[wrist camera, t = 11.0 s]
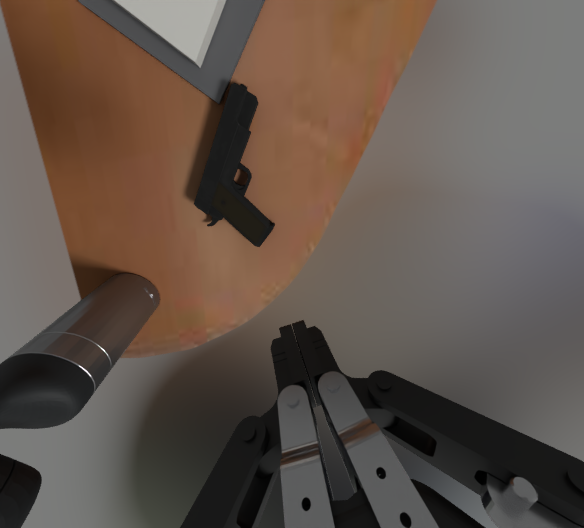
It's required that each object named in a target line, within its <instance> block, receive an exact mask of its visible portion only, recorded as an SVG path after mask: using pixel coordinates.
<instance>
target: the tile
mask: <svg viewBox="0 0 584 528" xmlns="http://www.w3.org/2000/svg"><path fill="white" fill-rule="evenodd" d="M112 1H113V2H114V3H116V4H117V5H118V6H120V7H121V8H122V9H124V10H125V11H126V12H128V13H129V14H130V15H131V16H133V17H134V18H135V19H137V20H138V21H139V22H141V23H142V24H143V25H145V26H146V27H147V28H148V29H150V30H151V31H152V32H154V33H155V34H156V35H158V36H159V37H160V38H162V39H163V40H164V41H166V42H167V43H168V44H169V45H171V46H172V47H173V48H175V49H176V50H177V51H179V52H180V53H181V54H183V55H184V56H185V57H186V58H188V59H189V60H190V61H192V62H193V63H194V64H196V65H197V66H198V67H200V68H201V65H202V62H203V60H204V57H205V55H206V52H207V49H208V47H209V44H210V42H211V39H212V36H213V34H214V31H215V28H216V26H217V23H218V21H219V18H220V15H221V13H222V10H223V8H224V5H225V2H226V0H112Z"/></svg>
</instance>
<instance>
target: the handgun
mask: <svg viewBox="0 0 584 528" xmlns="http://www.w3.org/2000/svg"><path fill="white" fill-rule="evenodd" d="M257 106H258V101H257V98H256V96H254V95H253V94H251V93H249V92H248V91H247V87H246V86H245V85H243V84H241V85H238V84H236V83H233V84H231V87H230V90H229V93H228V97H227V100H226V103H225V106H224V109H223V113H222V116H221V119H220V122H219V125H218V129H217V132H216V135H215V138H214V141H213V145H212V148H211V151H210V154H209V157H208V161H207V164H206V167H205V170H204V173H203V177H202V180H201V183H200V186H199V189H198V193H197V196H196V199H195V202H194V205H195V206H196V207H197V208H198V209H200V210H201V211H203V212H204V213H206V214H208V213H209V214H210V215H211V216H212V222H211V223H210V224H208V225H207V226H213V225H215V224H216V223H217V222H218V220H222V219H223V217H224V218H225V219H226V220H227V221H228V222H229V223H230V224H231V225H232V226H234V227H235V228H236V229H237V230H238V231H239V232H240V233H241V234H242V235H243V236H244V237H246V238H247V239H248V240H249V241H250V242H251V243H252V244H253V245H254V246H257V247H260V246H261V244H262V243H263V242H264V240H265V239H266V238H267V236H268V235H269V234H270V233H271V231H272V230H273V227H274V226H275V223H271V222H270V220H269V219H268V218H267V217H265V216H264V215H263V214H262V213H261V212H260V211H259V210H258V209H257V208H256V207H255V206H254V205H253V204H252V203H251V202H250V201H249V200H248V199H247V198H246V197H245V196H244V195H245V193H246V190H247V188H248V185H249V183H250V180H251V178H252V176H251V173H250V171H249V169H248V168H246V167H245V166H243V165H242V164H241V163H240V161H241V158H242V156H243V153H244V150H245V148H246V145H247V142H248V139H249V137H250V134H251V132H250V131H249V127H250V125H251V122H252V119H253V117H254V114H255V111H256V108H257ZM237 169H242V170H243V171H245V172H247V174H248V180H247V182H246V185H242V186H241V185H239V184H237V183H235V181H234V177H235V175H236V172H237Z"/></svg>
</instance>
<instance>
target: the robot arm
mask: <svg viewBox="0 0 584 528" xmlns="http://www.w3.org/2000/svg"><path fill="white" fill-rule="evenodd" d="M159 301H160V297H159V293H158V291H157V289H156V288H155V286H154V285H153V284H152V283H151V282H149V281H148V280H146V279H145V278H143V277H141V276H138V275H135V274H129V273H122V274H117V275H115V276H112V277H111V278H110V279H108V280H107V281H106V282H105V283H103V284H102V285H100V286H99V287H98V288H96V289H95V290H94V291H93V292H91V293H90V294H89V295H87V296H86V297H85V298H84V299H82V300H81V301H80V302H78V303H77V304H76V305H75V306H73V307H72V308H71V309H69V310H68V311H67V312H66V313H64V314H63V315H62V316H61V317H59V318H58V319H57V320H56V321H55V322H53V323H52V324H51V325H49V326H48V327H47V328H46V329H44V330H43V331H42V332H41V333H39V334H38V335H37V336H35V337H34V338H33V339H32V340H30V341H29V342H28V343H27V344H25V345H24V346H23V347H22V348H20V349H19V350H18V351H16V352H15V353H14V354H13V355H11V356H10V357H9V358H8V359H6V360H5V361H4V362H2V363H1V364H0V429H5V428H23V429H24V428H25V429H38V428H48V427H53V426H58V425H60V424H63V423H65V422H67V421H69V420H71V419H72V418H74V417H75V416H76V415H77V414H78V413H79V412H80V411H81V410H82V408H83V407H84V406H85V404H86V403H87V402H88V400H89V399H90V398H91V396H92V395H93V394H94V392H95V391H96V389H97V388H98V387H99V385H100V384H101V383H102V381H103V380H104V379H105V377H106V376H107V375H108V373H109V372H110V370H111V369H112V368H113V366H114V365H115V364H116V362H117V361H118V359H119V358H120V357H121V355H122V354H123V353H124V351H125V350H126V349H127V347H128V346H129V345H130V343H131V342H132V341H133V339H134V338H135V337H136V335H137V334H138V333H139V331H140V330H141V328H142V327H143V326H144V324H145V323H146V322H147V320H148V319H149V318H150V316H151V315H152V314H153V312H154V311H155V310H156V308H157V307H158V305H159ZM292 326H293V329H292ZM292 326H291V324H290V325H287V326H284V327H280V328H279V330H280V333H281V337H280V338H277V339H274V340H273V341H272V345H271V352H272V357H273V363H274V369H275V375H276V380H277V386H278V398H277V400H276V403H275V404H274V406H273V407H272V408H271V409H270V410H269V411H268V412H267V413H265V414H264V415H263V416H261V417H260V418H259V417H257V416H249V417H247V418H245V419H243V420H242V421H241V422H240V423H239V424H238V426H237V427H236V429H235V431H234V433H233V434H232V436H231V438H230V440H229V442H228V443H227V445H226V447H225V449H224V450H223V452H222V454H221V456H220V458H219V459H218V461H217V463H216V465H215V467H214V468H213V470H212V472H211V474H210V476H209V477H208V479H207V481H206V483H205V485H204V486H203V488H202V490H201V491H200V494H199V495H198V497H197V499H196V501H195V502H194V504H193V506H192V508H191V509H190V511H189V513H188V515H187V516H186V518H185V520H184V522H183V524H182V525H181V527H180V528H257V527H258V525H259V522H260V519H261V517H262V514H263V512H264V509H265V506H266V504H267V501H268V498H269V496H270V493H271V490H272V487H273V485H274V482H275V479H276V477H277V474H278V472H279V469H280V470H281V482H282V494H283V507H284V519H285V528H485V527H484V526H482V525H481V524H480V523H478V522H477V521H475V520H474V519H473V518H471V517H470V516H469V515H467V514H466V513H465V512H463V511H462V510H461V509H459V508H458V507H456V506H455V505H454V504H452V503H451V502H450V501H448V500H447V499H445V498H444V497H443V496H441V495H440V494H439V493H437V492H436V491H435V490H433V489H431V488H430V487H428V486H427V485H425V484H423V483H421V482H418V481H416V480H413V479H410V478H409V477H408V475H407V473H406V472H405V470H404V468H403V467H402V465H401V463H400V462H399V460H398V458H397V457H396V455H395V453H394V452H393V450H392V448H391V447H390V445H389V443H388V442H387V440H386V438H385V437H384V435H386V436H387V437H389V438H391V439H392V440H394V441H395V442H397V443H398V444H400V445H402V446H403V447H405V448H406V449H408V450H410V451H411V452H413V453H414V454H416V455H417V456H419V457H420V458H422V459H424V460H425V461H427V462H428V463H430V464H431V465H433V466H435V467H436V468H438V469H439V470H441V471H442V472H444V473H446V474H447V475H449V476H450V477H452V478H453V479H455V480H457V481H458V482H460V483H461V484H463V485H465V486H466V487H468V488H469V489H471V490H472V491H474V492H475V493H477V494H479V495H480V496H481V501H482V504H483V507H484V509H485V511H486V513H487V514H488V516H489V517H490V518H491V520H492V521H493V522H494V523H495V525H496V526H497V527H499V528H584V462H583V461H581V460H579V459H577V458H575V457H573V456H571V455H568V454H566V453H564V452H562V451H560V450H557V449H555V448H553V447H551V446H549V445H547V444H544V443H542V442H540V441H538V440H536V439H533V438H531V437H529V436H527V435H525V434H522V433H520V432H518V431H516V430H514V429H512V428H509V427H507V426H505V425H503V424H501V423H498V422H496V421H494V420H492V419H490V418H488V417H485V416H483V415H481V414H478V413H477V412H474V411H472V410H470V409H468V408H466V407H463V406H461V405H459V404H457V403H455V402H452V401H451V400H448V399H446V398H444V397H442V396H440V395H437V394H435V393H433V392H431V391H429V390H427V389H424V388H422V387H420V386H418V385H415V384H413V383H411V382H409V381H407V380H405V379H403V378H400V377H398V376H396V375H394V374H392V373H389V372H387V371H382V370H380V371H375V372H373V373H371V375H370V376H369V377H368V378H351V377H348V376H346V375H345V374H343V373H342V372H341V370H340V369H339V367H338V365H337V363H336V361H335V359H334V357H333V355H332V353H331V351H330V349H329V347H328V345H327V342H326V340H325V338H324V336H323V334H322V332H321V331H320V330H319V329H318V328H317V327H315V326H313V327H310V328H306V325H305V323H304V321H303V320H302V321H299V322H296V323H293V324H292ZM293 330H294V332H293ZM294 333H295V336H294ZM295 337H296V339H295ZM296 340H297V342H296ZM297 344H298V345H297ZM298 347H299V348H298ZM299 350H300V351H299ZM304 366H305V367H304ZM305 369H306V370H305ZM306 372H307V373H306ZM307 375H308V376H307ZM308 378H309V379H308ZM309 381H310V383H309ZM310 384H311V386H310ZM311 388H312V390H311ZM312 391H313V393H312ZM313 394H314V397H315V400H316V403H317V406H319V405H322V408H323V411H324V414H325V417H326V421H327V424H328V426H329V428H330V431H331V433H332V436H333V438H334V440H335V443H336V445H337V448H338V450H339V452H340V455H341V457H342V460H343V462H344V465H345V467H346V470H347V473H348V475H349V478H350V481H351V484H352V486H353V489H354V491H355V494H354V495H353V496H352V497H351V498H349V499H348V500H342V501H334V499H333V495H332V490H331V487H330V482H329V478H328V474H327V470H326V465H325V461H324V457H323V452H322V448H321V443H320V439H319V434H318V430H317V422H316V417H315V414H314V411H313V408H314V407H316V404H315V400H314V397H313ZM383 434H384V435H383ZM41 481H42V479H41V475H40V473H39V471H37V470H36V469H35V468H33V467H31V466H29V465H26V464H24V463H22V462H19V461H17V460H14V459H12V458H9V457H6V456H4V455H1V454H0V528H21V526H22V525H23V523H24V521H25V519H26V518H27V516H28V514H29V512H30V510H31V508H32V506H33V504H34V502H35V500H36V498H37V495H38V493H39V490H40V486H41Z"/></svg>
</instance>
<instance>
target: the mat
mask: <svg viewBox="0 0 584 528" xmlns="http://www.w3.org/2000/svg"><path fill="white" fill-rule="evenodd" d="M78 1H79V2H80V3H81V4H83V5H84V6H85V7H87V8H88V9H90V10H91V11H92V12H94V13H95V14H96V15H98V16H99V17H101V18H102V19H103V20H105V21H106V22H107V23H109V24H110V25H111V26H113V27H114V28H116V29H117V30H118V31H120V32H121V33H122V34H124V35H125V36H127V37H128V38H129V39H131V40H132V41H133V42H135V43H136V44H137V45H139V46H140V47H142V48H143V49H144V50H146V51H147V52H148V53H150V54H151V55H153V56H154V57H155V58H157V59H158V60H159V61H161V62H162V63H163V64H165V65H166V66H168V67H169V68H170V69H172V70H173V71H174V72H176V73H177V74H179V75H180V76H181V77H183V78H184V79H185V80H187V81H188V82H189V83H191V84H192V85H194V86H195V87H196V88H198V89H199V90H200V91H202V92H203V93H205V94H206V95H207V96H209V97H210V98H211V99H213V100H214V101H215V102H217V103H218V104H220V103H221V101H222V98H223V96H224V94H225V91H226V89H227V87H228V85H229V82H230V80H231V78H232V75H233V73H234V71H235V68H236V66H237V64H238V61H239V59H240V57H241V55H242V52H243V50H244V48H245V45H246V43H247V41H248V38H249V36H250V34H251V31H252V29H253V27H254V25H255V22H256V20H257V18H258V15H259V13H260V11H261V8H262V6H263V4H264V1H265V0H226V2H225V5H224V8H223V10H222V13H221V15H220V18H219V21H218V23H217V26H216V28H215V31H214V34H213V36H212V39H211V42H210V44H209V47H208V49H207V52H206V55H205V57H204V60H203V62H202V65H201V68H200V67H198V66H197V65H196V64H194V63H193V62H192V61H190V60H189V59H188V58H186V57H185V56H184V55H183V54H181V53H180V52H179V51H177V50H176V49H175V48H173V47H172V46H171V45H169V44H168V43H167V42H166V41H164V40H163V39H162V38H160V37H159V36H158V35H156V34H155V33H154V32H152V31H151V30H150V29H148V28H147V27H146V26H145V25H143V24H142V23H141V22H139V21H138V20H137V19H135V18H134V17H133V16H131V15H130V14H129V13H128V12H126V11H125V10H124V9H122V8H121V7H120V6H118V5H117V4H116V3H114V2H113V1H112V0H78Z"/></svg>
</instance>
